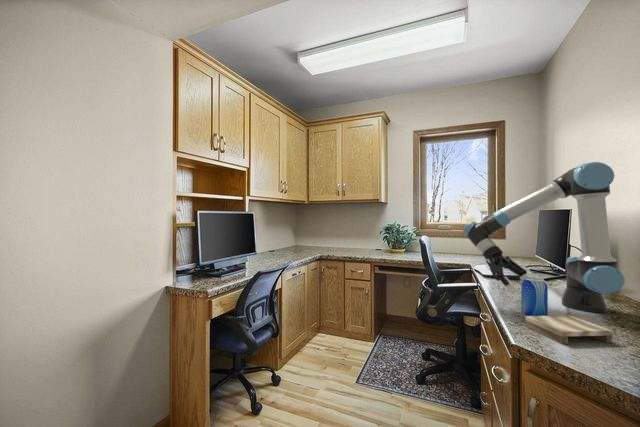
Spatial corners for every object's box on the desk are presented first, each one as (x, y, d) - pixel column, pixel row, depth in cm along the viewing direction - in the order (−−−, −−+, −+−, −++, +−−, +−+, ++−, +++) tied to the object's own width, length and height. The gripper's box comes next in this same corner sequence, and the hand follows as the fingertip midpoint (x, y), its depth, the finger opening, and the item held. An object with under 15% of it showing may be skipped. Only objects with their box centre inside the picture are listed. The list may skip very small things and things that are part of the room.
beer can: (552, 323, 105) (552, 282, 106) (528, 321, 107) (528, 280, 107) (539, 315, 114) (539, 277, 114) (517, 314, 115) (517, 276, 115)
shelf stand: (569, 325, 103) (569, 315, 103) (612, 342, 89) (612, 330, 89) (525, 326, 101) (525, 316, 101) (562, 344, 87) (562, 331, 87)
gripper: (500, 253, 134) (534, 292, 121) (466, 256, 124) (499, 298, 110) (511, 244, 130) (548, 282, 116) (477, 245, 119) (513, 288, 105)
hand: (524, 290), depth 113 cm, fingers open, 13 cm apart
